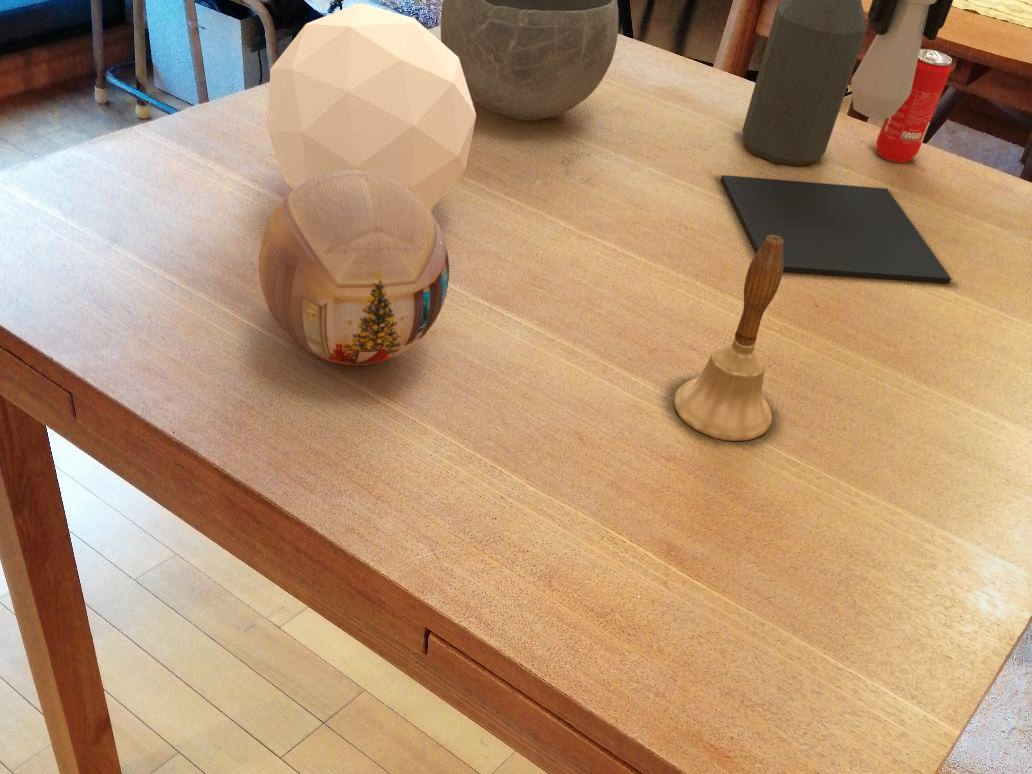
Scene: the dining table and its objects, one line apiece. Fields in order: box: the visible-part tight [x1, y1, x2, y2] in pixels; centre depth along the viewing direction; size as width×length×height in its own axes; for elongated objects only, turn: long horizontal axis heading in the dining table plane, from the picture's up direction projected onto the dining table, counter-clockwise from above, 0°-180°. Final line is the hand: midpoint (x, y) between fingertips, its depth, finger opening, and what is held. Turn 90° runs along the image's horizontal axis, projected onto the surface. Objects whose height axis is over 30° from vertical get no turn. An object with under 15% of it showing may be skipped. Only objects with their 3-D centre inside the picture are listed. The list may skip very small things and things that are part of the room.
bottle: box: [741, 0, 868, 167], centre depth 123 cm, size 10×10×30 cm
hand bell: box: [673, 235, 784, 442], centre depth 86 cm, size 8×8×16 cm
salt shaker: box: [850, 0, 937, 120], centre depth 105 cm, size 6×6×13 cm
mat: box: [720, 174, 952, 284], centre depth 118 cm, size 20×20×1 cm
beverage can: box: [876, 48, 953, 164], centre depth 131 cm, size 5×5×12 cm
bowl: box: [440, 0, 619, 121], centre depth 127 cm, size 20×20×15 cm
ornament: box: [258, 170, 450, 366], centre depth 87 cm, size 15×15×15 cm
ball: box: [266, 2, 477, 211], centre depth 103 cm, size 19×20×20 cm
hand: (901, 30), depth 104 cm, fingers closed on salt shaker, 4 cm apart
